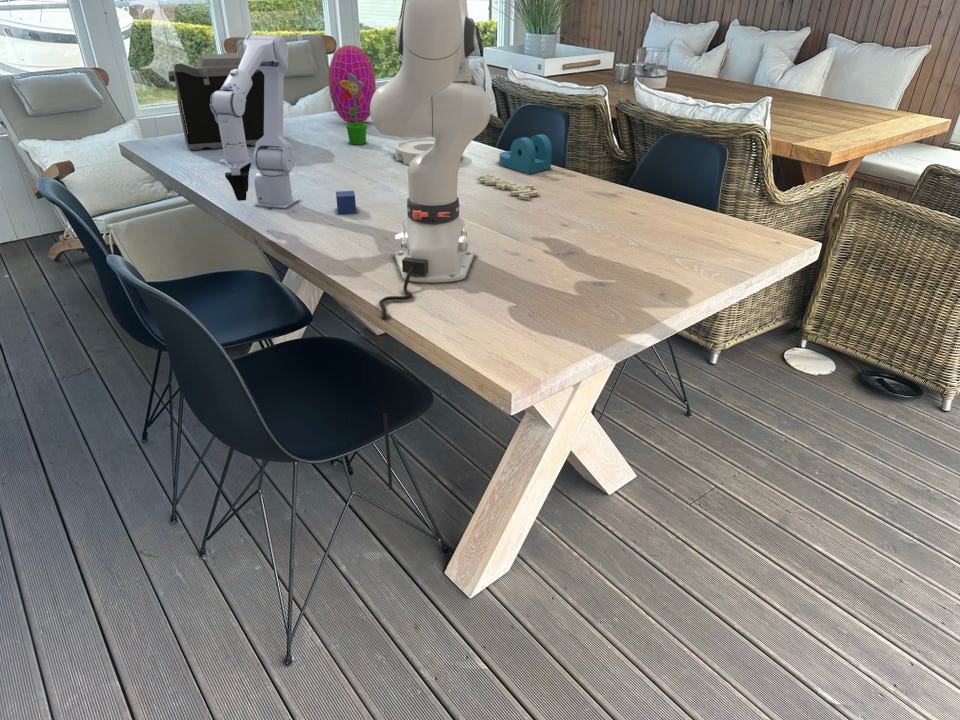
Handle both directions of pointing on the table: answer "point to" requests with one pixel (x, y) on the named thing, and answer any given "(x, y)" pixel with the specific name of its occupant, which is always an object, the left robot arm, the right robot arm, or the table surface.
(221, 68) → the electronic device
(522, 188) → the decorative sign
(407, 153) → the ashtray
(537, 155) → the teal clevis bracket
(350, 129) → the potted flower
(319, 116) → the table surface
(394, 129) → the right robot arm
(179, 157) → the table surface
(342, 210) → the block
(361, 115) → the decorative egg
